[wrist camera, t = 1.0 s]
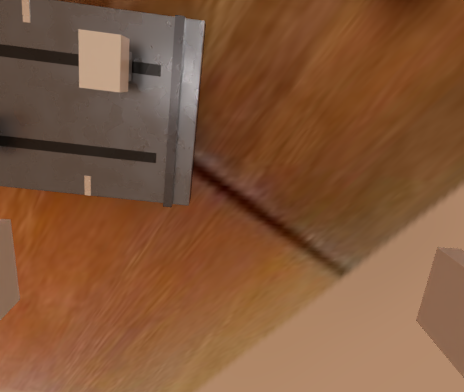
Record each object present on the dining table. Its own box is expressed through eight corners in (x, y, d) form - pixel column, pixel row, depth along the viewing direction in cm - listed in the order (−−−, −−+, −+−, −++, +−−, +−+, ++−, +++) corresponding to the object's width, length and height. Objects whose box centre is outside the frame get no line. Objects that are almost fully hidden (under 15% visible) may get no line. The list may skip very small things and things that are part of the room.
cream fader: (103, 38, 30) (78, 29, 24) (138, 43, 30) (120, 34, 25) (103, 87, 31) (79, 87, 26) (136, 91, 31) (119, 92, 26)
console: (-92, -16, 30) (-125, -27, 27) (205, 24, 32) (204, 18, 29) (-65, 172, 35) (-90, 180, 32) (190, 199, 37) (187, 208, 34)
